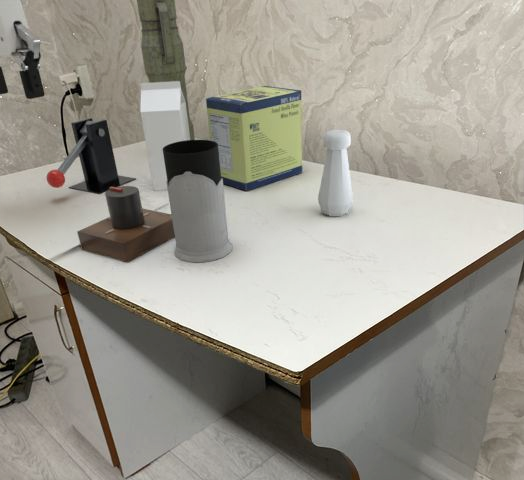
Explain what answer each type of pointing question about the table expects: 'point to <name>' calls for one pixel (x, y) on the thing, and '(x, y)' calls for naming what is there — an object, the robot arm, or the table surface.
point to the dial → (124, 207)
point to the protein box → (257, 135)
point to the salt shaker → (336, 174)
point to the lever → (68, 161)
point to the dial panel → (127, 236)
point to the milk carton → (162, 124)
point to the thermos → (163, 46)
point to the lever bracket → (97, 158)
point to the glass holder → (197, 200)
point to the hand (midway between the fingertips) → (17, 95)
